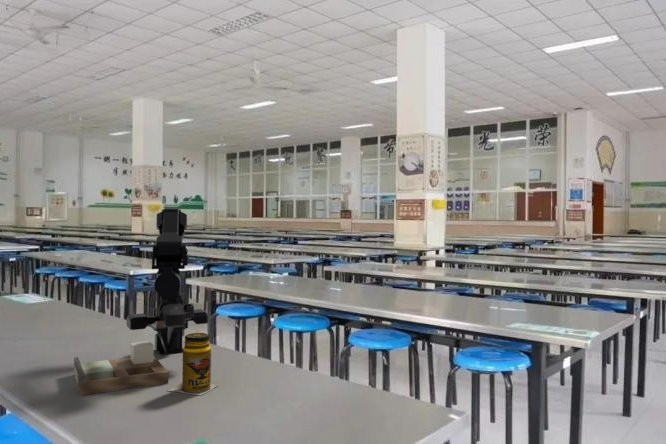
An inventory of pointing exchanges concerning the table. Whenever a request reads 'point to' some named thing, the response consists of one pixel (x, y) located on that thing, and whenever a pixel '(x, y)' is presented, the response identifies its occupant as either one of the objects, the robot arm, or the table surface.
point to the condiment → (196, 365)
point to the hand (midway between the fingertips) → (167, 353)
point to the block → (141, 352)
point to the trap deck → (117, 375)
